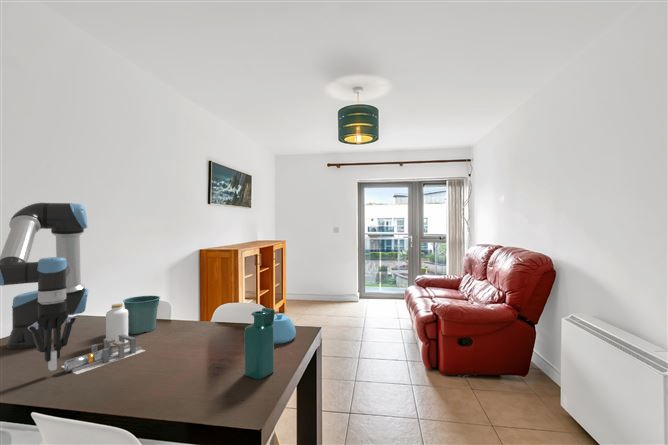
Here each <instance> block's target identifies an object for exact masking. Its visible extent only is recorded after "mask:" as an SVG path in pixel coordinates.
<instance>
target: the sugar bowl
mask: <svg viewBox="0 0 668 445" xmlns="http://www.w3.org/2000/svg"><path fill="white" fill-rule="evenodd" d="M272 326H273V329H274V345H275V344H277V345H279V344H285V343H286V344H287V343H289V342H291V341H292V340H293V339H294V338H295V337H296V335H297V333H296V332H297V330H296V326H295V324H294V322H293V321H292V319H291V318H290V317H289V316H287V315H284V314H283V313H280V312H279V313H276V315H274V322H273V324H272Z"/></svg>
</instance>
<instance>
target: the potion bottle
mask: <svg viewBox="0 0 668 445" xmlns="http://www.w3.org/2000/svg"><path fill="white" fill-rule="evenodd" d="M110 308H111V309H110V310H108V311H107V312H106V313H105V339H106V338H112V339H115V341H119V335H121V334H124V335H127V336H129V332H128V310H127V309H125V307H124V305H123V303H114V304H112V305H111V307H110ZM127 343H129V341H128V340H125V344H127ZM110 347H117V346H116V345H113V342H112V343H110Z"/></svg>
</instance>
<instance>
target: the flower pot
mask: <svg viewBox="0 0 668 445" xmlns="http://www.w3.org/2000/svg"><path fill="white" fill-rule="evenodd" d="M160 299H161V296H160V295H140V296H138V295H137V296H133V297H128V298H125V299H123V300H122V302H123V303H124V305H123V306H124V309H127V310H128V334H135V335H138V334H143V333H149V332H152V331H154V330H155V329H156V326H157V325H156V324H157V318H158V317H157V315H158V308H159V307H158V306H159V305H160V304H159V303H160Z"/></svg>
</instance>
